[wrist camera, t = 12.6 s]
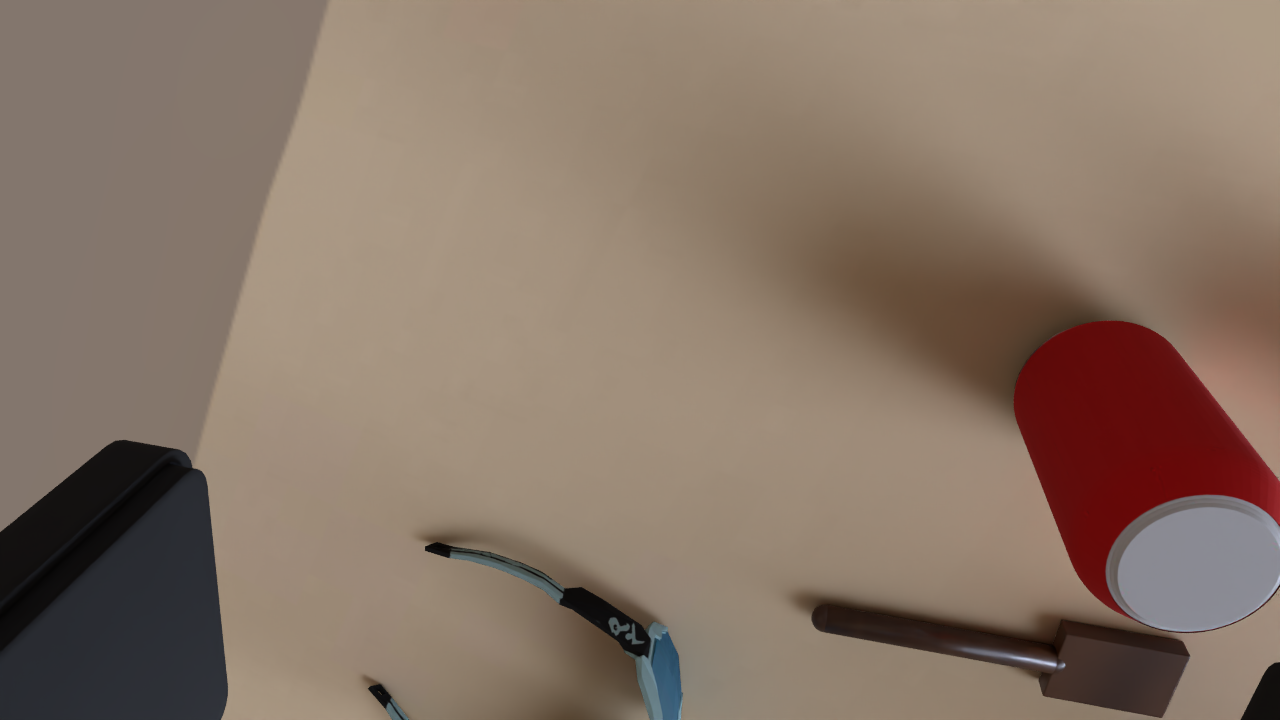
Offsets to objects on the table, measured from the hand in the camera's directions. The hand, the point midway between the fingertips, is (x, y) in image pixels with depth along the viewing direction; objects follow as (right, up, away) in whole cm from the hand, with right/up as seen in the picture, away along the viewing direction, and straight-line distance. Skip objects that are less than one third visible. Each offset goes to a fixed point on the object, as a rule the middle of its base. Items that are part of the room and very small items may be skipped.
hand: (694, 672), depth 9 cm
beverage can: (+17, +2, +30) cm, 35 cm away
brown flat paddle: (+16, -10, +36) cm, 41 cm away
